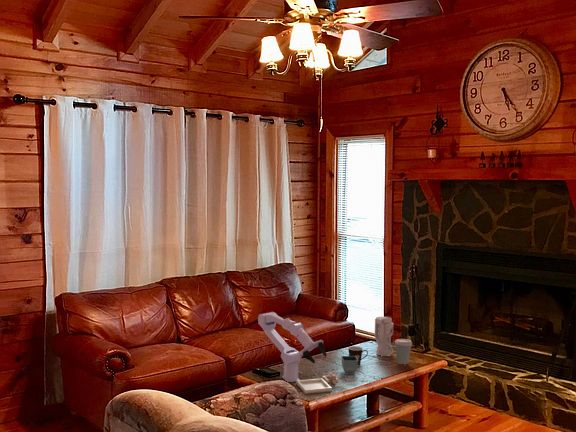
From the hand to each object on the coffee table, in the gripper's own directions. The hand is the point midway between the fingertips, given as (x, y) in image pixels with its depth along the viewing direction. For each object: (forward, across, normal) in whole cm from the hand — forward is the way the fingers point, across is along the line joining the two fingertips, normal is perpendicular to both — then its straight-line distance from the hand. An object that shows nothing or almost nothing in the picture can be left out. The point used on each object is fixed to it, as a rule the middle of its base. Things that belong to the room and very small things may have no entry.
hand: (320, 359), depth 328 cm
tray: (+5, -7, +16) cm, 18 cm away
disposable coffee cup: (+10, +59, +44) cm, 74 cm away
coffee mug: (-4, +34, +42) cm, 55 cm away
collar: (+4, +7, +23) cm, 24 cm away
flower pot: (+2, +22, +32) cm, 39 cm away
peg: (+3, +7, +24) cm, 25 cm away
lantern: (-6, +58, +56) cm, 81 cm away
